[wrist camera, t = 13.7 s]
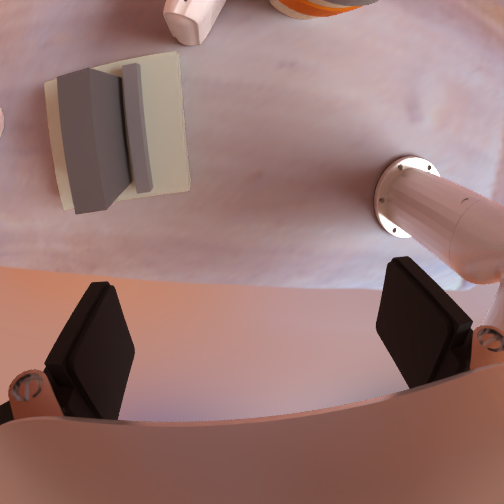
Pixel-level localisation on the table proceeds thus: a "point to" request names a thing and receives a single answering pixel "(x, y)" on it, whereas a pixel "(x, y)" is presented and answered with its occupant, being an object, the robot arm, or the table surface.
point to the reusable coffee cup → (316, 7)
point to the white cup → (1, 122)
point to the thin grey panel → (93, 138)
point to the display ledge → (138, 127)
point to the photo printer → (191, 19)
